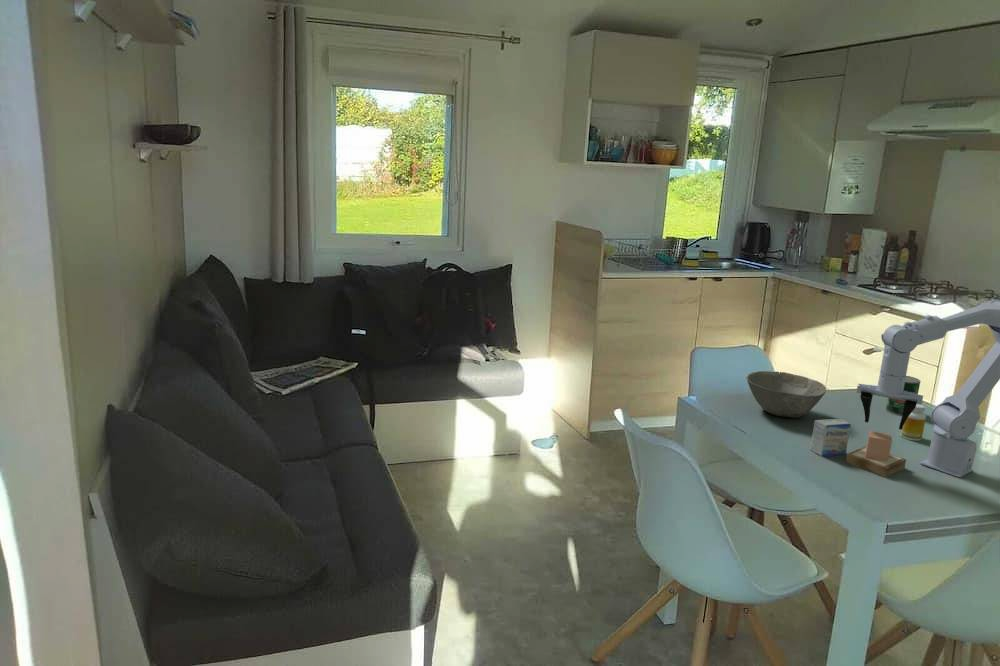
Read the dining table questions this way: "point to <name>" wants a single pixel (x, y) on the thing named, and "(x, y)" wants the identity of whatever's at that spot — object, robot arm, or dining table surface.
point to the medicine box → (830, 437)
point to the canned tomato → (898, 405)
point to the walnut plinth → (875, 463)
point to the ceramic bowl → (785, 392)
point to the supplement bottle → (914, 424)
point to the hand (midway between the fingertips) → (883, 424)
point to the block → (878, 446)
